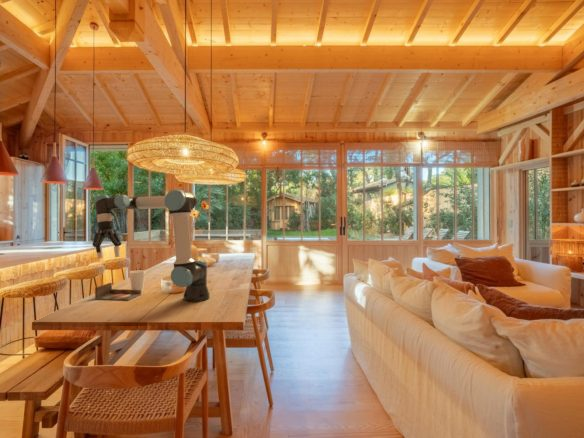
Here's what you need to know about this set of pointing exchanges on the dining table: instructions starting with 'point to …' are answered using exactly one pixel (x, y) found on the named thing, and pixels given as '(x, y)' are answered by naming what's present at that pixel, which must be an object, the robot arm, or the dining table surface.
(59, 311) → the dining table surface
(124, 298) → the wooden-edged grey tray
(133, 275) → the foam cup
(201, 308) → the dining table surface
